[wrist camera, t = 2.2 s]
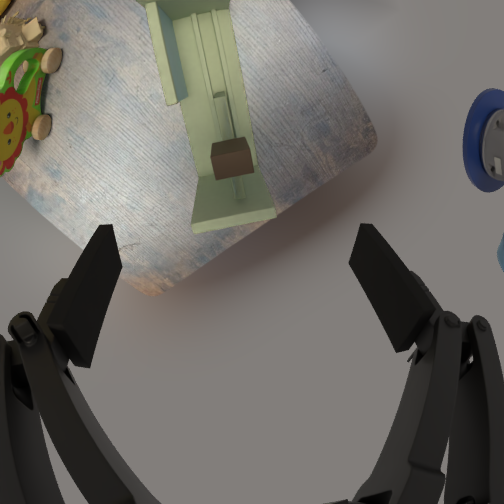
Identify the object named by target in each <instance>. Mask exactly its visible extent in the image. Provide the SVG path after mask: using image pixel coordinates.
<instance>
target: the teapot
mask: <svg viewBox="0 0 504 504" xmlns="http://www.w3.org/2000/svg"><path fill="white" fill-rule="evenodd" d="M11 1H12V0H0V16H1V14H2V13H3V12H4V11H5V9H6V8H7V7H8V5H9V4H10V2H11Z"/></svg>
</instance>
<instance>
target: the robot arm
mask: <svg viewBox="0 0 504 504" xmlns="http://www.w3.org/2000/svg"><path fill="white" fill-rule="evenodd" d="M479 157H480V162H481V165H482V168H483V170H484V171H485V173H486V174H487V175H489V176H491V177H492V178H494V179H496V180H500V181H504V109H502V108H496V109H494V110H492V111H491V112H490V113H489V114H488V116H487V117H486V119H485V121H484V124H483V126H482V130H481V134H480V140H479ZM497 255H498V256H497V257H498V261H499V264H500V266H501V268H502V270H503V272H504V234H503V238H502V240H501V243H500V245H499V247H498V251H497ZM349 265H350V267H351V268H352V270H353V272H354V274H355V276H356V277H357V279H358V281H359V282H360V284H361V286H362V288H363V290H364V291H365V293H366V295H367V297H368V299H369V300H370V302H371V304H372V306H373V308H374V310H375V312H376V314H377V316H378V317H379V320H380V321H381V323H382V325H383V327H384V329H385V331H386V333H387V335H388V337H389V339H390V341H391V343H392V345H393V348H394V350H395V352H396V353H398V352H402V351H406V350H409V349H410V347H411V346H412V345H413V343H414V342H415V343H416V345H417V348H416V350H415V351H414V352H413V353H412V355H411V356H410V357H409V359H408V360H407V362H409V361H410V360H411V359H412V358H413V359H412V363H411V367H410V371H409V375H408V378H407V382H406V385H405V389H404V392H403V395H402V398H401V401H400V405H399V408H398V411H397V413H396V416H395V419H394V422H393V425H392V427H391V430H390V432H389V435H388V438H387V440H386V442H385V445H384V447H383V450H382V452H381V454H380V457H379V459H378V461H377V463H376V465H375V467H374V470H373V472H372V474H371V476H370V477H369V478H368V480H367V481H366V482H365V483H364V484H363V485H362V486H361V487H360V489H359V490H358V492H357V493H356V495H355V497H354V499H353V500H352V501H348V500H347V499H346V500H341V501H336V502H331V503H325V504H438V501H439V498H440V495H441V493H442V490H443V487H444V484H445V493H444V504H504V380H503V374H502V369H501V365H500V360H499V356H498V352H497V348H496V344H495V340H494V337H493V333H492V330H491V327H490V324H489V323H488V321H487V320H486V319H485V318H484V317H482V316H479V315H476V316H474V317H473V318H472V319H471V321H470V322H469V323H468V322H461V321H460V319H459V318H458V317H457V316H456V315H455V314H454V313H452V312H450V311H443V309H442V308H441V306H440V305H439V303H438V302H437V301H436V299H435V298H434V296H433V295H432V294H431V292H429V289H428V288H427V286H425V284H424V282H423V281H422V280H421V278H420V277H419V276H418V275H416V274H415V273H414V272H413V271H409V270H408V268H407V267H406V266H405V264H404V263H403V262H402V260H401V259H400V258H399V257H398V255H397V254H396V253H395V251H394V250H393V249H392V248H391V246H390V245H389V244H388V243H387V241H386V240H385V239H384V238H383V236H381V234H380V233H379V232H378V230H377V229H376V228H375V227H374V226H373V224H363V223H361V224H360V227H359V231H358V234H357V237H356V241H355V244H354V247H353V251H352V254H351V257H350V260H349ZM121 269H122V263H121V259H120V255H119V251H118V247H117V243H116V239H115V234H114V230H113V225H112V224H107V225H99V226H98V228H97V229H96V231H95V233H94V234H93V236H92V237H91V239H90V241H89V242H88V244H87V246H86V247H85V249H84V251H83V253H82V254H81V256H80V258H79V259H78V261H77V263H76V265H75V266H74V268H73V270H72V272H71V274H70V275H69V278H62V279H61V280H60V281H59V282H58V283H57V284H56V285H55V286H54V288H53V289H52V291H51V293H50V296H49V297H48V299H47V303H45V305H44V307H43V309H42V311H41V313H40V315H39V317H38V320H37V321H36V319H35V318H34V316H33V315H32V313H30V312H21V313H18V314H17V315H16V316H14V317H13V318H12V320H11V321H10V323H9V326H8V332H9V334H10V335H11V336H12V338H13V339H14V340H13V341H6V340H5V338H4V337H3V336H2V335H0V504H65V503H64V500H63V498H62V495H61V492H60V490H59V487H58V484H57V481H56V478H55V475H54V472H53V469H52V465H51V462H50V458H49V455H48V451H47V447H46V443H45V439H44V434H43V430H42V425H41V419H40V415H41V417H42V419H43V422H44V424H45V427H46V429H47V431H48V433H49V435H50V438H51V440H52V442H53V444H54V446H55V448H56V450H57V452H58V454H59V456H60V458H61V459H62V461H63V463H64V465H65V467H66V468H67V470H68V472H69V474H70V475H71V477H72V479H73V480H74V482H75V484H76V485H77V487H78V488H79V490H80V491H81V493H82V494H83V496H84V497H85V499H86V500H87V502H88V503H89V504H161V503H160V502H159V501H158V500H157V499H156V498H155V497H154V496H153V495H152V494H151V493H150V492H149V491H148V490H147V488H146V487H145V486H144V485H143V484H142V482H141V481H140V480H139V479H138V478H137V476H136V475H135V474H134V473H133V471H132V470H131V469H130V467H129V466H128V465H127V464H126V462H125V461H124V460H123V458H122V457H121V456H120V454H119V453H118V451H117V450H116V448H115V447H114V446H113V445H112V443H111V441H110V440H109V438H108V437H107V435H106V434H105V432H104V431H103V429H102V428H101V426H100V424H99V423H98V421H97V419H96V418H95V416H94V414H93V413H92V411H91V409H90V408H89V406H88V404H87V402H86V400H85V398H84V397H83V395H82V393H81V391H80V389H79V387H78V385H77V383H76V381H75V379H74V377H73V375H72V373H71V371H70V369H69V368H68V366H67V364H68V361H69V359H70V360H71V361H72V363H73V364H74V365H75V366H78V367H85V368H90V366H91V362H92V359H93V355H94V351H95V348H96V344H97V340H98V337H99V334H100V330H101V327H102V324H103V321H104V318H105V315H106V311H107V308H108V305H109V303H110V300H111V297H112V294H113V291H114V288H115V285H116V283H117V280H118V277H119V275H120V272H121ZM472 355H473V361H472V363H470V361H469V359H470V357H471V356H472ZM39 413H40V414H39ZM448 438H449V454H448V466H447V475H446V478H445V474H443V473H442V472H441V469H440V468H441V464H442V461H443V457H444V454H445V450H446V446H447V442H448ZM445 479H446V483H445Z"/></svg>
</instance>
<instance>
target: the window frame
mask: <svg viewBox="0 0 504 504" xmlns="http://www.w3.org/2000/svg"><path fill="white" fill-rule="evenodd" d="M136 1H137V2H138V3H139V4H141V5H142V6H143V7H144V8H145V9H146V13H147V19H148V24H149V29H150V34H151V39H152V43H153V48H154V53H155V57H156V62H157V66H158V71H159V75H160V79H161V84H162V88H163V92H164V96H165V100H166V104H167V106H169V105H173V104H177V103H178V102H180V105H181V109H182V113H183V118H184V122H185V126H186V130H187V134H188V138H189V142H190V146H191V150H192V154H193V157H194V161H195V165H196V169H197V173H198V177H199V180H198V185H197V191H196V196H195V202H194V208H193V214H192V220H191V227H192V230H193V233H194V234H199V233H203V232H208V231H213V230H218V229H222V228H227V227H232V226H237V225H242V224H247V223H252V222H257V221H262V220H268V219H273V218H276V217H277V216H276V208H275V205H274V203H273V200H272V198H271V195H270V193H269V190H268V188H267V186H266V183H265V181H264V178H263V176H262V173H261V171H260V169H259V166H258V161H257V155H256V150H255V144H254V138H253V132H252V127H251V121H250V115H249V110H248V104H247V99H246V94H245V88H244V83H243V78H242V72H241V67H240V62H239V57H238V52H237V46H236V41H235V36H234V31H233V26H232V22H231V17H230V12H229V3H230V0H136ZM222 91H224V92H225V95H226V98H227V103H228V108H229V113H230V118H231V123H232V128H233V133H234V138H240V137H245V138H246V140H247V142H248V145H249V147H250V150H251V156H252V161H253V167H254V173H251V174H246V175H242V179H243V184H244V189H245V194H246V197H245V198H240V199H235V198H234V193H233V189H232V184H231V179H230V178H226V179H221V180H215V175H214V171H213V167H212V163H211V159H210V155H211V146H212V143H215V142H220V141H222V138H221V133H220V128H219V123H218V119H217V114H216V109H215V105H214V100H213V98H214V96H215V93H217V92H222Z"/></svg>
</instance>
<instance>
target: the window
mask: <svg viewBox="0 0 504 504" xmlns="http://www.w3.org/2000/svg"><path fill="white" fill-rule="evenodd" d="M213 100H214V105H215V109H216V114H217V119H218V123H219V128H220V133H221V138H222V141H220V142H215V143H212V146H211V155H210V159H211V163H212V167H213V171H214V175H215V180H221V179H226V178H230V179H231V184H232V189H233V193H234V198H235V199H240V198H245V197H246V194H245V189H244V184H243V179H242V175H246V174H251V173H254V167H253V161H252V156H251V150H250V147H249V145H248V142H247V140H246V138H245V137H240V138H234V133H233V128H232V123H231V118H230V113H229V108H228V103H227V98H226V95H225V92H224V91H222V92H217V93H215V96H214V98H213Z"/></svg>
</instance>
